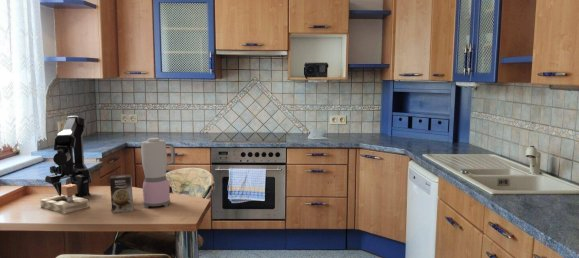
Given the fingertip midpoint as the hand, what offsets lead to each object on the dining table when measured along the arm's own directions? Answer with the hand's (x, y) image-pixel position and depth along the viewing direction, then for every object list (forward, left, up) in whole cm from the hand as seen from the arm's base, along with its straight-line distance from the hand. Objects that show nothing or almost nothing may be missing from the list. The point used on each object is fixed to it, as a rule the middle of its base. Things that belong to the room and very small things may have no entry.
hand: (69, 193), depth 214 cm
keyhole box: (+2, -5, -7) cm, 9 cm away
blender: (-36, +20, -7) cm, 42 cm away
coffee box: (-19, +18, -7) cm, 27 cm away
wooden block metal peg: (0, 0, -7) cm, 7 cm away
